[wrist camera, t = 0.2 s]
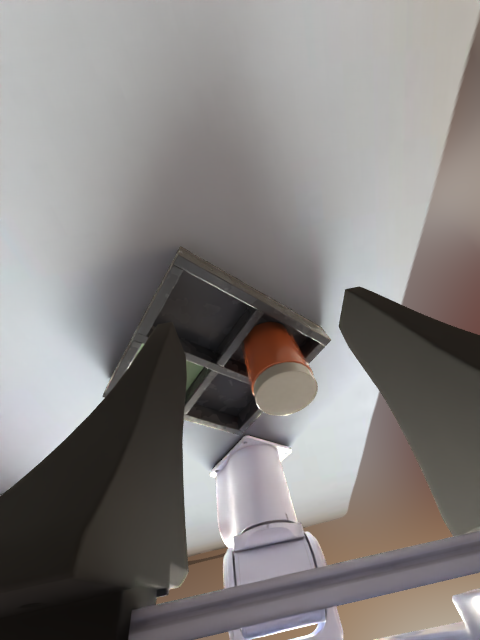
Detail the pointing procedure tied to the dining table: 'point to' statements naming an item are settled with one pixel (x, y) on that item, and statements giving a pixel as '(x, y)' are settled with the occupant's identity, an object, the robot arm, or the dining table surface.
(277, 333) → the jar
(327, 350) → the dining table surface
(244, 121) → the dining table surface
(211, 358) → the rack
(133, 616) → the robot arm
